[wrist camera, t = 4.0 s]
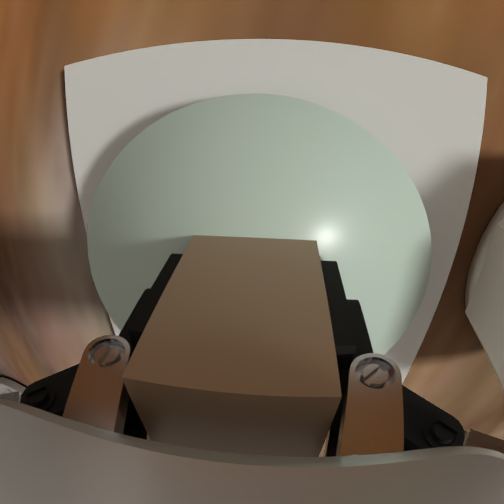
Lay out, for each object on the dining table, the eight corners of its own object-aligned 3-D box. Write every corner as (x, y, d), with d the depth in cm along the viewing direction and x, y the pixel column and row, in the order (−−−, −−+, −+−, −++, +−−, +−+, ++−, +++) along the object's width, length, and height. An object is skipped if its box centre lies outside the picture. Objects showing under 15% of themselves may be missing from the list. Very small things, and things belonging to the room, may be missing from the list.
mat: (399, 376, 16) (402, 384, 16) (130, 358, 18) (126, 365, 17) (479, 76, 9) (487, 77, 8) (72, 65, 10) (64, 66, 9)
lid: (378, 382, 15) (400, 504, 9) (133, 367, 16) (88, 477, 10) (449, 116, 9) (607, 179, 3) (78, 108, 10) (-82, 163, 4)
